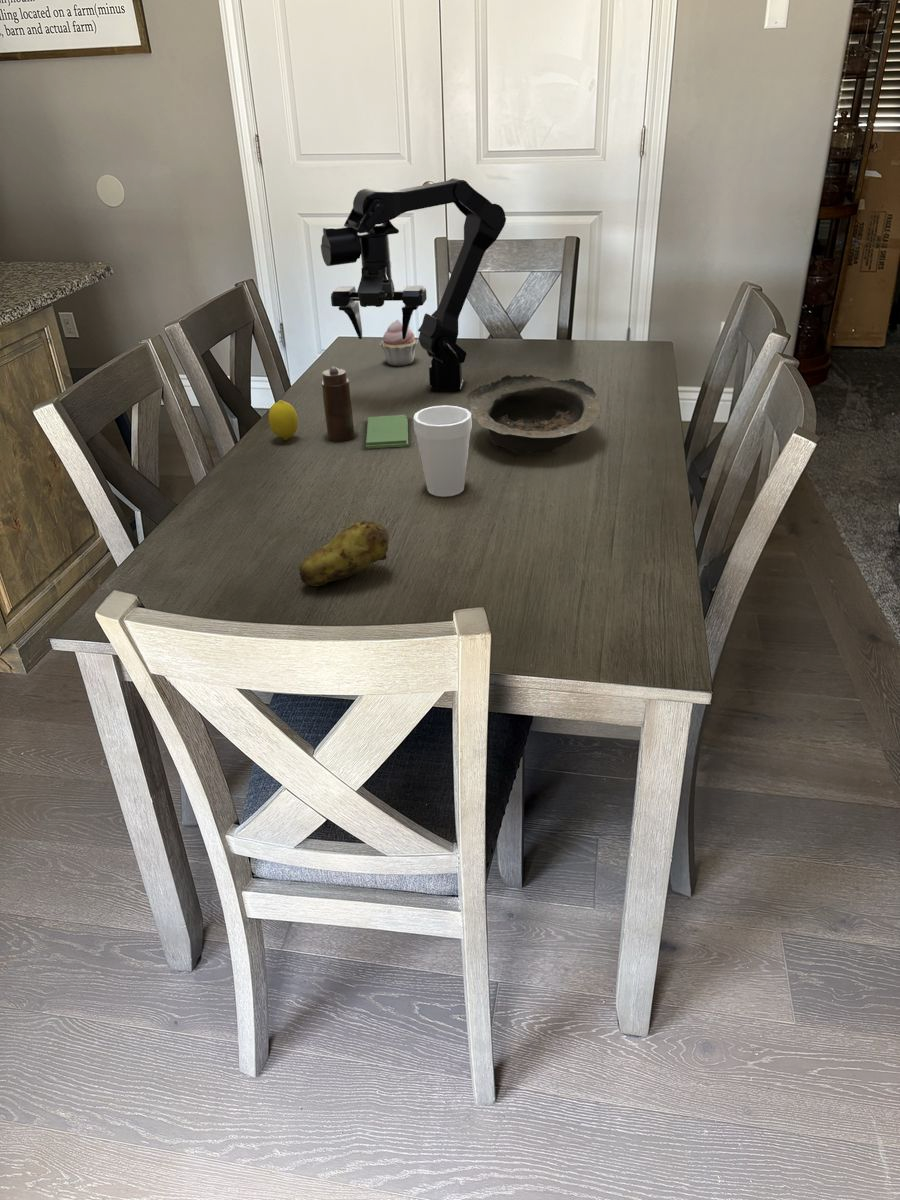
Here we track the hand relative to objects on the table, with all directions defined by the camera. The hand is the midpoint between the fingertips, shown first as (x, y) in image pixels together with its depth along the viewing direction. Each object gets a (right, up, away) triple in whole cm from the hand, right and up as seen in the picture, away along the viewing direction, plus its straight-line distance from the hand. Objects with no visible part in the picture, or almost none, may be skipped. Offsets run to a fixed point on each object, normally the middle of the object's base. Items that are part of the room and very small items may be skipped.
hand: (382, 338), depth 180 cm
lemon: (-18, -23, -10) cm, 31 cm away
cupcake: (+2, +3, +29) cm, 29 cm away
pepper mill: (-7, -22, -10) cm, 26 cm away
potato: (-1, -51, -56) cm, 76 cm away
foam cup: (+13, -36, -32) cm, 50 cm away
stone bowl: (+30, -24, -16) cm, 42 cm away
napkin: (+2, -22, -10) cm, 24 cm away
